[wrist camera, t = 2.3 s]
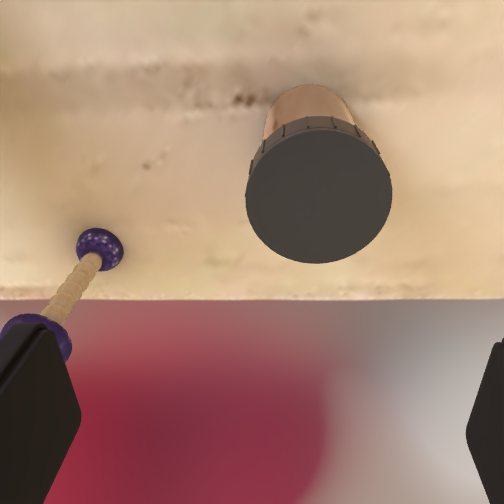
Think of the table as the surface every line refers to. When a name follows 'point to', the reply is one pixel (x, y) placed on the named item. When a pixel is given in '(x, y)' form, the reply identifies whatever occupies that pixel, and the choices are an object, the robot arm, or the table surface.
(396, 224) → the table surface
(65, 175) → the table surface
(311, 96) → the jar
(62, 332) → the toy lamp
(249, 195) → the cap
